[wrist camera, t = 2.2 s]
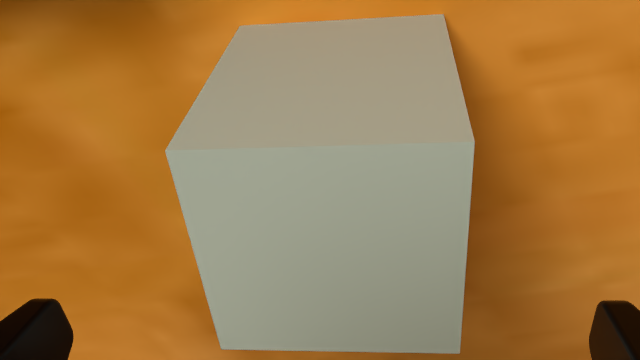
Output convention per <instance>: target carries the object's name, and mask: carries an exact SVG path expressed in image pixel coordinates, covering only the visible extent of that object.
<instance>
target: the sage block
mask: <svg viewBox="0 0 640 360" xmlns="http://www.w3.org/2000/svg"><path fill="white" fill-rule="evenodd" d="M474 146H475V141H474V137H473V132H472V128H471V124H470V120H469V116H468V112H467V108H466V104H465V100H464V96H463V92H462V88H461V83H460V79H459V75H458V71H457V67H456V63H455V59H454V55H453V51H452V47H451V43H450V39H449V35H448V30H447V26H446V22H445V18H444V14H439V15H421V16H403V17H386V18H368V19H350V20H333V21H315V22H298V23H280V24H262V25H245V26H240V27H239V28H238V30H237V32H236V33H235V35H234V37H233V38H232V40H231V42H230V43H229V45H228V47H227V48H226V50H225V52H224V53H223V55H222V57H221V58H220V60H219V62H218V63H217V65H216V67H215V68H214V70H213V72H212V73H211V75H210V77H209V78H208V80H207V82H206V83H205V85H204V87H203V88H202V90H201V92H200V93H199V95H198V97H197V98H196V100H195V102H194V103H193V105H192V107H191V108H190V110H189V112H188V113H187V115H186V117H185V118H184V120H183V122H182V123H181V125H180V127H179V128H178V130H177V132H176V133H175V135H174V137H173V138H172V140H171V142H170V143H169V145H168V147H167V148H166V150H165V152H166V155H167V159H168V162H169V166H170V169H171V173H172V176H173V180H174V184H175V187H176V191H177V194H178V198H179V201H180V205H181V208H182V212H183V215H184V219H185V223H186V226H187V230H188V233H189V237H190V240H191V244H192V247H193V251H194V254H195V258H196V262H197V265H198V269H199V272H200V276H201V279H202V283H203V286H204V290H205V294H206V297H207V301H208V304H209V308H210V311H211V315H212V318H213V322H214V325H215V329H216V333H217V336H218V340H219V343H220V347H221V349H225V350H282V351H338V352H394V353H451V354H460V345H461V331H462V316H463V302H464V288H465V274H466V259H467V245H468V231H469V217H470V202H471V188H472V174H473V160H474Z"/></svg>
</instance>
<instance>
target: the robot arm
mask: <svg viewBox="0 0 640 360" xmlns="http://www.w3.org/2000/svg"><path fill="white" fill-rule="evenodd" d="M72 343H73V330H72V328H71V325H70V323H69V321H68V319H67V317H66V315H65V313H64V311H63V309H62V307H61V305H60V303H59V302H58V301H57V300H55V299H32V300H30V301H28V302H27V303H25V304H24V305H22V306H21V307H20V308H18V309H17V310H15V311H14V312H13V313H11V314H10V315H8V316H7V317H6V318H4V319H3V320H1V321H0V360H68V357H69V353H70V350H71V347H72ZM589 347H590V353H591V358H592V360H640V310H638V309H637V308H636V307H635V306H634V305H633V304H631V303H629V302H628V301H601V302H599V304H598V305H597V308H596V312H595V316H594V320H593V324H592V328H591V332H590V336H589Z"/></svg>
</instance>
